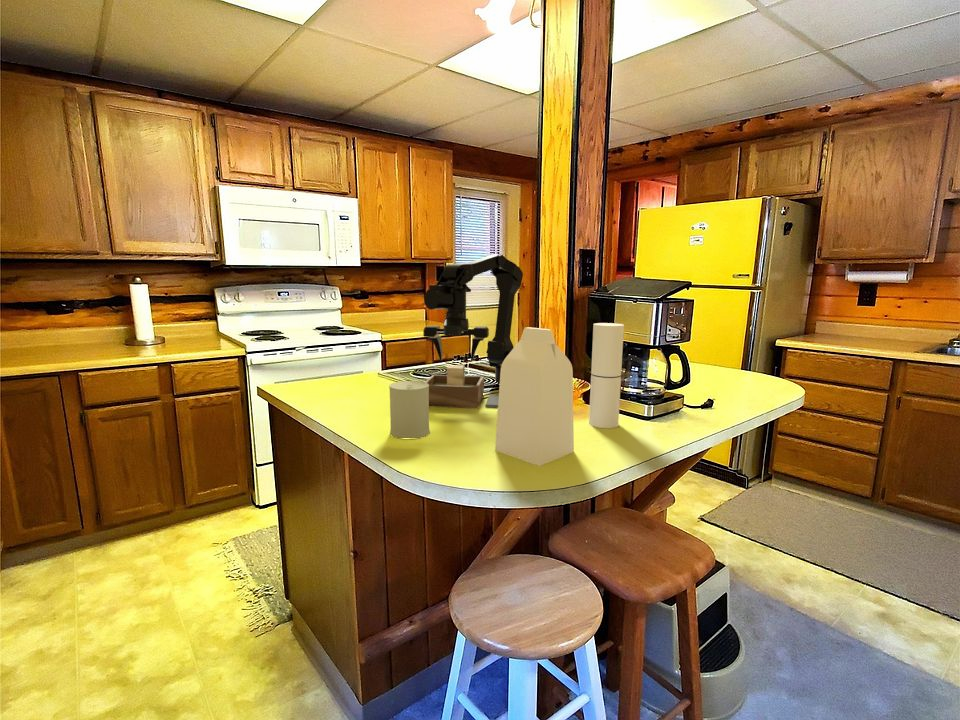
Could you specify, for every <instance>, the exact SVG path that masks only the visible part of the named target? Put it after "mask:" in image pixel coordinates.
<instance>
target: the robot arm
mask: <svg viewBox="0 0 960 720" xmlns="http://www.w3.org/2000/svg"><path fill="white" fill-rule="evenodd" d="M489 271H490V272H491V274H492V275H493V277H495V284H496V288H497V289H498V292H499V297H498V306H497V313H496V314H497V315H496V321H495V323H496V324H495V332H494V336H493V338H492V339H491V340H488V341H487V349H486V351H485V352H486V357H487V360H488V364H489V367H492V368H493V367H494V370H495V371H494V372H495V373H494V374H495V375H494V377H495V378H494V380H495V381H496V382H498V383H499V384H500V372H501V366H502V363H503V361H504V359H505V358H506V357H507V356H508V354H509V353H510V352H511V351H512V349H513V348H514V347H515V346H514V344H513V341H512V340H511V331H512V322H513V314H514V306H515V305H514V304H515V297H516V293H517V292H518V291H519V289H520V288H521V285H522V282H523V277H524V272H523V270H522V269H521V267H520V266H518V265H517V264H516V263H514V262H513V261H511V260H509V259H507V258H506V256H504V254H500V253H498V254H497V253H496V254H495V253H493V254H489V255H487V256H484V257H482V258H479V259H478V258H477V259H475V260H472V261H469V262H466V263H454V264H453V263H452V264H451V263H450V264H446V265H445V266H444V267H443V271H442V273H441V275H440V277H439V278H438V280H437V283H436V284H429V285H428V289H427V291H426V292H425V294H424V296H423V302H424V305H425V306H426V307H425V308H427V309H428V310H431V311H432V310H445V309H446V315H445V320H444V322H443V328H442V327H441V326H440V325H427V326H425V327H424V328H423V337H424V338H425V337H426V338H428V340H429V341H431V342H432V343H433V344H434V346H435V350H436V353H437V354H438V358H439V360H440V361H442V360H443V346H442V345H443V344H442V343H443V342H442V336H441V335H444V336H445V337H449V336H455V337H459V336H473V338H472V341H471V354H470V361H471V362H473V360H474V357H475V354H476V351H477V349H478V346H479V344H480V342H481V341H484V339H487V338H489V335H490V333H489V332H490V330H489V327H488V326H480V325H479V326H475V327H473V328H469V327H470V326H469V325H470V323H469V319H468V318H467V293H471V292H472V289H471V288H470V287H469V286H468V285H467V284H468V283H470V282H471V281H473V279H474V278H475V276H478V275H480V274H483V273H486V272H489ZM495 381H494V382H495Z"/></svg>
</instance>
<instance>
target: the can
mask: <svg viewBox="0 0 960 720" xmlns="http://www.w3.org/2000/svg"><path fill="white" fill-rule="evenodd" d="M388 387H389V408H390V409H389V410H390V413H389V415H390V416H389V417H390V431H389V434H390V436H391V435H392V436H394V437H397V438H396V439H398V438H418V439H422V438H421V437H423V438H425V437H427V436H428V434H429V435H430V432H431V429H430V413H429V412H430V406H429V384H428V383H425V381H418V380H417V381H416V380H405V381H397V382H392V383H391V384H389V385H388ZM392 436H391V437H392ZM424 436H425V437H424ZM394 437H393V438H394Z"/></svg>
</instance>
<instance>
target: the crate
mask: <svg viewBox="0 0 960 720" xmlns="http://www.w3.org/2000/svg"><path fill="white" fill-rule="evenodd" d="M424 382H425V383H428V384H429V407H434V408H435V407H436V408H460V409H462V408H463V409H465V408H466V409H479V406H480V405H481V402H482V400H483V398H484V396H483V392H484V393H485V376H484V375H483V376H481V375H479V376H478V375H477V376H476V375H465V385H464V386H447V374H431V376H430V377H428V379H426V380H425V381H424ZM482 397H483V398H482Z"/></svg>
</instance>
